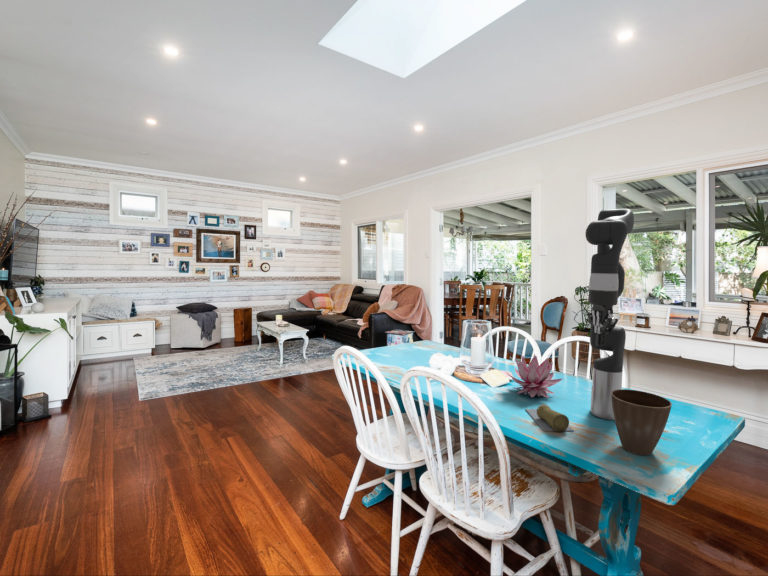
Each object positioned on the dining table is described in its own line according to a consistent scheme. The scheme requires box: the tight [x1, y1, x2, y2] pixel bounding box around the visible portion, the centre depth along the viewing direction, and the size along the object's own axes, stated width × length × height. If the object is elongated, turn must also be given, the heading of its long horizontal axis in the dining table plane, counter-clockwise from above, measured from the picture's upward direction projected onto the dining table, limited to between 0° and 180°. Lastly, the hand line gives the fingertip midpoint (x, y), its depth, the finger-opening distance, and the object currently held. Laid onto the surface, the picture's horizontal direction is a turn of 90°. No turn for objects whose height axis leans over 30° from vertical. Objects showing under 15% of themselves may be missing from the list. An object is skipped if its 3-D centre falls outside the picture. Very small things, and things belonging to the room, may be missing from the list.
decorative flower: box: [505, 355, 563, 399], centre depth 159 cm, size 21×21×15 cm
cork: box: [536, 404, 570, 433], centre depth 129 cm, size 6×6×11 cm
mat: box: [525, 408, 575, 432], centre depth 133 cm, size 18×10×1 cm, turn 178°
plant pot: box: [611, 388, 673, 456], centre depth 112 cm, size 15×15×16 cm
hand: (600, 345), depth 113 cm, fingers closed
